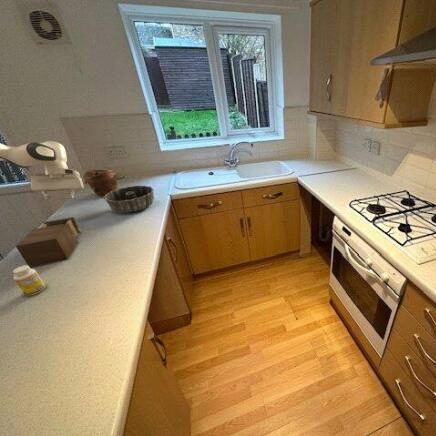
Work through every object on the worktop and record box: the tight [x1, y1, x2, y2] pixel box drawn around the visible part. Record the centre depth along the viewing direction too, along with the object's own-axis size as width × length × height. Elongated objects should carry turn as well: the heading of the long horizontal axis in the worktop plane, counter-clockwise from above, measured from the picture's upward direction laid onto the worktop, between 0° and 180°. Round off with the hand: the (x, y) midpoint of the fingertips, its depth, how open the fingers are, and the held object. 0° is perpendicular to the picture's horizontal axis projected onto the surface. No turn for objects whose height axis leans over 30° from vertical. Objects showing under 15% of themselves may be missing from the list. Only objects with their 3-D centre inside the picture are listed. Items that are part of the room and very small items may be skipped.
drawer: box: [40, 216, 82, 239], centre depth 116 cm, size 18×12×9 cm, turn 25°
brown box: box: [15, 223, 79, 268], centre depth 106 cm, size 15×13×11 cm
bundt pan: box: [103, 185, 155, 214], centre depth 150 cm, size 26×26×10 cm
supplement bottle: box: [12, 264, 46, 296], centre depth 86 cm, size 6×6×10 cm
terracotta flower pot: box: [83, 169, 118, 198], centre depth 170 cm, size 18×20×18 cm
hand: (59, 198), depth 125 cm, fingers open, 8 cm apart
